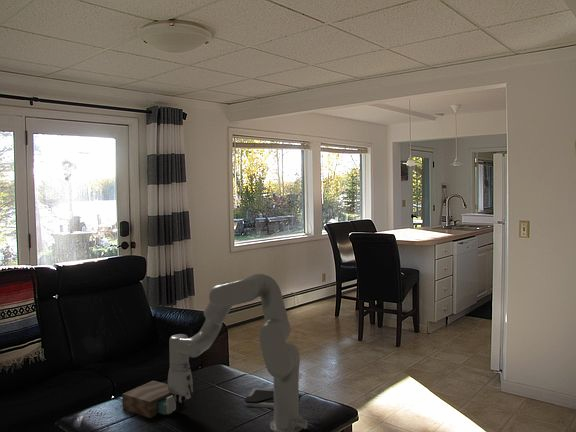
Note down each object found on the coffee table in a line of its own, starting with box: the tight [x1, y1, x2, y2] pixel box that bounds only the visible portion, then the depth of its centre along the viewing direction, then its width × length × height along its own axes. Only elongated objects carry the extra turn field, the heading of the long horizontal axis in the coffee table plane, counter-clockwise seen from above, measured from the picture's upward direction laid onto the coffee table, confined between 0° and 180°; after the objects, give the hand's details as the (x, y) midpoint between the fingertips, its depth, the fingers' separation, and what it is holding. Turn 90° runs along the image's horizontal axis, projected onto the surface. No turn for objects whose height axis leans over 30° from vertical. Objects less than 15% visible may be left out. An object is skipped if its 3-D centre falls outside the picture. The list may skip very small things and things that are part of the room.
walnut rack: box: [121, 380, 171, 419], centre depth 205 cm, size 16×17×6 cm
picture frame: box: [243, 387, 274, 409], centre depth 210 cm, size 16×3×21 cm
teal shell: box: [156, 395, 176, 416], centre depth 203 cm, size 15×7×6 cm, turn 59°
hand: (180, 410), depth 197 cm, fingers closed
